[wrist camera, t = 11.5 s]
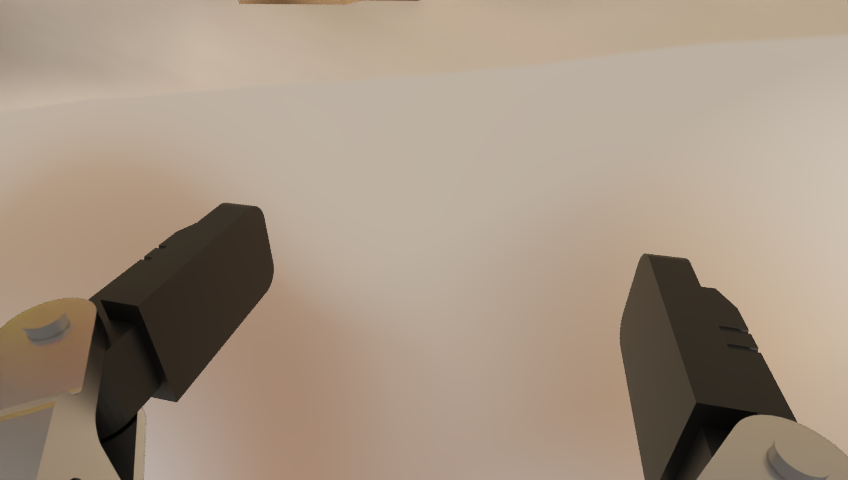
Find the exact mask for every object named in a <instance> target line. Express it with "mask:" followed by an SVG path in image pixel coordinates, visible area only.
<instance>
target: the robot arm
mask: <svg viewBox="0 0 848 480" xmlns="http://www.w3.org/2000/svg"><path fill="white" fill-rule="evenodd" d="M273 273H274V265H273V259H272V254H271V249H270V244H269V239H268V234H267V229H266V224H265V218H264V215H263V212H262V211H261V209H260V208H258V207H256V206H249V205H241V204H232V203H222V204H220V205H219V206H218V207H216V208H215V209H214V210H213V211H211V212H210V213H209V214H207V215H206V216H205V217H204V218H202V219H201V220H200V221H199V222H197V223H195V224H193V225H191V226H188V227H186V228H184V229H182V230H180V231H177V232H176V233H174V234H173V235H172V236H171V237H169V238H168V239H167V240H165V241H164V242H163V243H161V244H160V245H159V248H155V249H154V250H152V251H151V252H150V253H148V254H147V255H146V256H145V258H144V260H139V261H138V262H137V263H135V264H134V265H133V266H132V267H130V268H129V269H128V270H126V271H125V272H124V273H122V274H121V275H120V276H119V277H117V278H116V279H115V280H113V281H112V282H111V283H110V284H108V285H107V286H106V287H104V288H103V289H102V290H100V291H99V292H98V293H96V294H95V295H94V296H92V297H91V298H90V299H89V300H86V299H82V298H64V299H58V300H53V301H49V302H46V303H43V304H40V305H37V306H35V307H32V308H30V309H28V310H26V311H24V312H22V313H20V314H18V315H17V316H15V317H14V318H12V319H11V320H9V321H8V322H7V323H6V324H5V325H4V326H2V327H1V328H0V480H144V464H145V440H146V414H145V411H144V409H143V407H142V406H143V405H144V404H145V403H146V402H147V401H148V400H149V399H150V397H154V398H159V399H163V400H168V401H173V402H177V401H178V400H179V399H180V398H181V397H182V395H183V394H184V393H185V392H186V390H187V389H188V388H189V387H190V385H191V384H192V383H193V382H194V381H195V379H196V378H197V377H198V376H199V374H200V373H201V372H202V371H203V370H204V368H205V367H206V366H207V365H208V363H209V362H210V361H211V360H212V358H213V357H214V356H215V355H216V353H217V352H218V351H219V350H220V349H221V347H222V346H223V345H224V344H225V342H226V341H227V340H228V339H229V338H230V336H231V335H232V334H233V333H234V331H235V330H236V329H237V328H238V326H239V325H240V324H241V323H242V322H243V320H244V319H245V318H246V316H247V315H248V314H249V313H250V312H251V310H252V309H253V308H254V307H255V306H256V304H257V303H258V302H259V301H260V299H261V298H262V297H263V296H264V294H265V293H266V292H267V291H268V289H269V287H270V285H271V282H272V279H273ZM620 346H621V352H622V358H623V363H624V368H625V374H626V379H627V385H628V390H629V395H630V401H631V406H632V412H633V418H634V423H635V428H636V434H637V439H638V445H639V450H640V455H641V461H642V466H643V472H644V477H645V480H848V456H847V455H846V454H845V453H844V452H842V451H841V450H840V449H839V448H838V447H837V446H836V445H834V444H833V443H832V442H830V441H829V440H828V439H826V438H825V437H823V436H821V435H820V434H818V433H817V432H815V431H813V430H811V429H810V428H808V427H806V426H804V425H802V424H799V423H797V421H796V419H795V417H794V415H793V413H792V411H791V410H790V408H789V406H788V404H787V402H786V400H785V398H784V396H783V394H782V392H781V390H780V389H779V387H778V385H777V383H776V381H775V379H774V377H773V375H772V373H771V371H770V370H769V368H768V366H767V364H766V362H765V360H764V358H763V356H762V354H761V353H758V347H757V345H756V343H755V341H754V339H753V337H752V335H751V334H748V328H747V326H746V324H745V322H744V320H743V318H742V316H741V314H740V313H739V311H738V309H737V308H736V307H735V306H734V305H733V304H732V303H731V302H730V301H729V300H727V299H726V298H725V297H724V296H723V295H722V294H721V293H720V292H719V291H717V290H716V289H714V288H706V287H701V286H700V284H699V281H698V279H697V277H696V274H695V272H694V270H693V268H692V266H691V263H690V262H689V260H688V259H686V258H678V257H669V256H661V255H653V254H643V255H642V257H641V258H640V260H639V263H638V266H637V269H636V273H635V276H634V280H633V283H632V286H631V289H630V292H629V296H628V299H627V302H626V306H625V309H624V312H623V316H622V321H621V327H620Z"/></svg>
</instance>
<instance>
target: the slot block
mask: <svg viewBox="0 0 848 480" xmlns="http://www.w3.org/2000/svg"><path fill="white" fill-rule="evenodd" d="M356 1H360V0H239V4H349V3H353V2H356ZM372 1H418V0H372Z"/></svg>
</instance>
